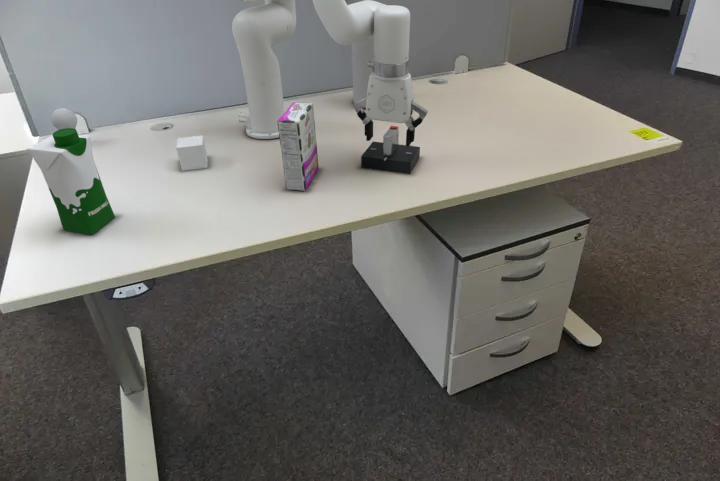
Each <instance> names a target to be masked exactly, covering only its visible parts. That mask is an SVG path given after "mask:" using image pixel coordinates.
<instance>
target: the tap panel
mask: <svg viewBox="0 0 720 481" xmlns="http://www.w3.org/2000/svg"><path fill="white" fill-rule="evenodd" d="M420 153H421V147H420V146H416V145H410V146H406V144H400V143H398V148H397V149H396V151H395V152H394V154H393V155H392V157H388V156H383V141H372V142H370V144H369V145H368V147H367V148H366V150H364V152H363V153H362V154H361V155H360V162H361V163H360V165H361V169H366V170H367V169H369V170H375V171H382V172H383V171H385V172H390V173H391V172H392V173H397V174H404V175H405V174H406V175H411V174H412V173H413V170H414V169H415V167H416V165H417V163H418V162H419V160H420V155H421V154H420Z"/></svg>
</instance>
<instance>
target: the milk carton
mask: <svg viewBox="0 0 720 481" xmlns="http://www.w3.org/2000/svg"><path fill="white" fill-rule="evenodd" d="M92 145H93V144H92V137H91V135H86V134H85V135H84V134H79V133H78V131H77V128H76V129H73V128H66V129H61V130H58V129H57V130H56V131H54V132H53V133H52V135H51V136H48V137H46V138H44V139H42V140H40V141H39V142H37V143H34V144H33V145H31V146H29V147H27V148H26V150H27V151H28V153H29V154H30V156H31V157H32V159H33V160H34V161H35V163H36V164H37V166H38V167H39V169H40V171H41V173H42V176H43V179H44V181H45V183H46V185H47V189H48V191H49V193H50V195H51V197H52V201H53V202H54V205H55V207H56V211H57V214H58V216H59V221H60V224H61V227H62V230H63V231H66V232H71V233H77V234H84V235H89V236H94V235H95V234H96V233H98V231H100V230H101V229H103V227H105V226H106V225H107V224H109V223H110V222H111V221H113V220H114V219H115V218H116V215H115V212H114V211H113V208H112V206H111V203H110V201H109V199H108V196H107V194H106V190H105V188H104V185H103V182H102V179H101V176H100V172H99V170H98V167H97V165H96V161H95V159H94V155H93V146H92Z"/></svg>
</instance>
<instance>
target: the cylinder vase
mask: <svg viewBox="0 0 720 481" xmlns="http://www.w3.org/2000/svg"><path fill="white" fill-rule="evenodd" d="M372 60H374V37H373V38H369V39H365V40H362V41H360V42H357V43H355V44H352V45H351V68H352V69H351V70H352V71H351V72H352V101H353V104H354V103H355V102H357V101H360V100H362V99H364V98H367V89H368V82H369V76H370V74H371V73H372V72H373V69H372V68H371V67H368V66H367V63H368V61H372ZM362 109H366V105H364V106H362Z"/></svg>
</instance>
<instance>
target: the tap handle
mask: <svg viewBox="0 0 720 481" xmlns="http://www.w3.org/2000/svg"><path fill="white" fill-rule="evenodd" d="M399 128H400V127H399V126H398V125H390V126H389V128H388V129H387V131H385V133H384V134H383V135H382V138H383V139H382V143H383V156H388V157H392V155H393V154H394V152H395V151H396V149H397V148H398V144H399V135H400V133H399V130H400V129H399Z"/></svg>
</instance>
